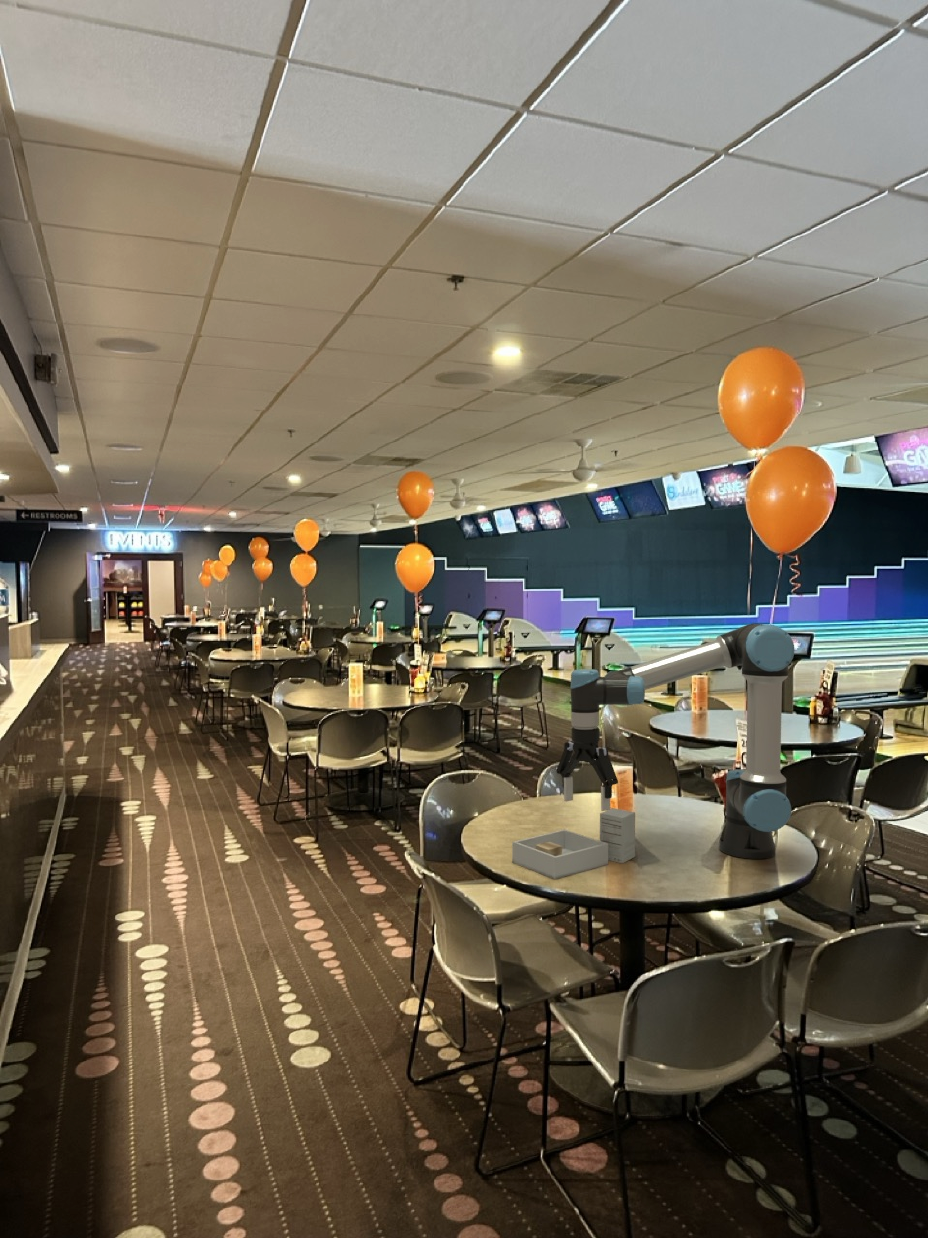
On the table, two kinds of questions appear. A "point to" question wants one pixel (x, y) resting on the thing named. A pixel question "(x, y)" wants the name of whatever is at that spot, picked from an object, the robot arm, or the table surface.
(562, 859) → the tote
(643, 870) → the table surface
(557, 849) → the maple block
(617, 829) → the supplement box
